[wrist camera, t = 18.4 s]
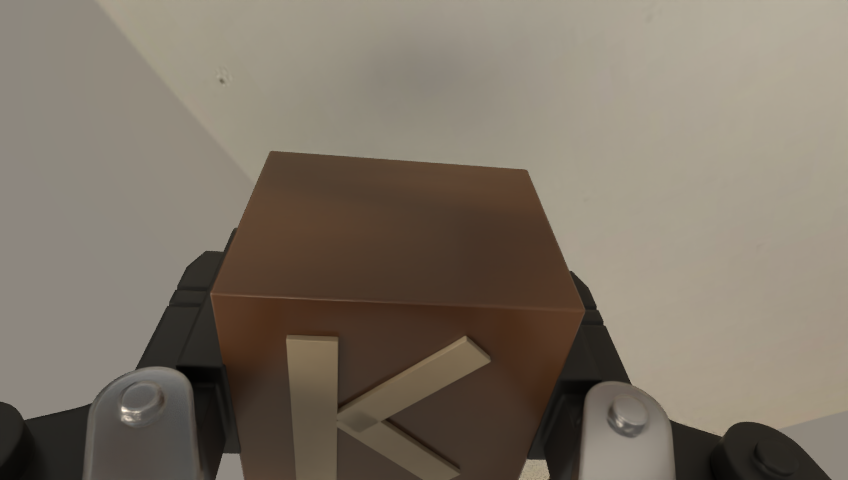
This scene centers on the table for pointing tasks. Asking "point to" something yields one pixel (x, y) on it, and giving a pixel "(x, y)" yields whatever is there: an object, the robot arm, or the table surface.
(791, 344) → the table surface
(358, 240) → the block
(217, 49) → the table surface
